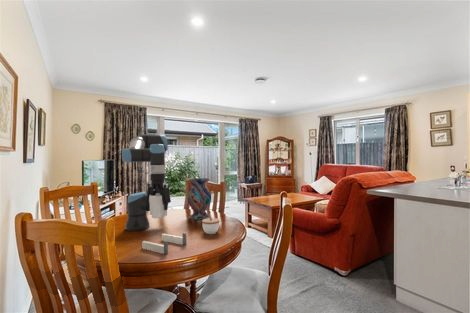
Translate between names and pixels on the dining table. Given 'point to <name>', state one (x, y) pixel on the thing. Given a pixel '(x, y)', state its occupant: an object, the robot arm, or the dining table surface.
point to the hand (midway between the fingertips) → (158, 215)
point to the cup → (156, 205)
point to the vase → (199, 198)
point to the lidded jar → (210, 225)
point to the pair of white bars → (166, 239)
